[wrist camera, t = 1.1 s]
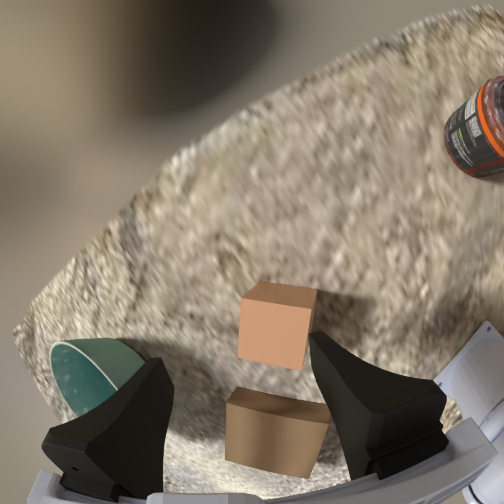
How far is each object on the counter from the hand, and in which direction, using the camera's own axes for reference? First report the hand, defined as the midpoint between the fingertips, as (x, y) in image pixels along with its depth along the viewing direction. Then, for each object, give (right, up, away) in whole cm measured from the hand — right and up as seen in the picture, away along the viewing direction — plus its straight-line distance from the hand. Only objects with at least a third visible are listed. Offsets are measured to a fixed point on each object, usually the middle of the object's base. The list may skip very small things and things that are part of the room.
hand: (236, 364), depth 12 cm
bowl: (-15, -11, +20) cm, 27 cm away
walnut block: (+4, -14, +14) cm, 20 cm away
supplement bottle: (+19, +14, +4) cm, 25 cm away
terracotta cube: (+4, 0, +12) cm, 12 cm away
